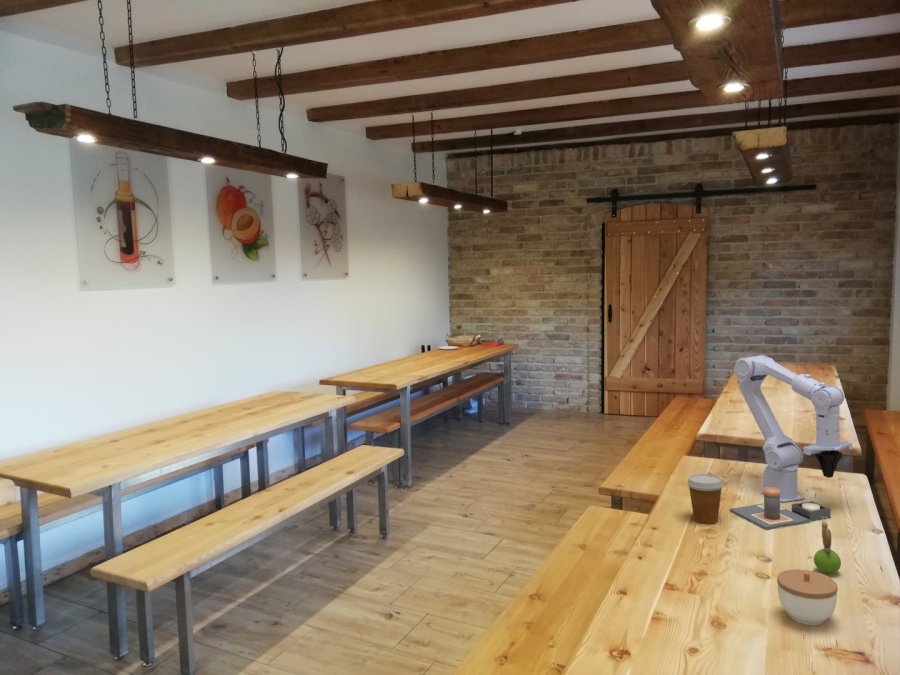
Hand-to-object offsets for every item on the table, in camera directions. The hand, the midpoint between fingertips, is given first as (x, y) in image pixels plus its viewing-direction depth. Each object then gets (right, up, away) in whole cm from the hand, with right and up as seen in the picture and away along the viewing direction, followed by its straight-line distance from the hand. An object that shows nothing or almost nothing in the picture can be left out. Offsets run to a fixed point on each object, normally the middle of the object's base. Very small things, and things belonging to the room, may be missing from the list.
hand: (828, 476), depth 190 cm
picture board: (-17, -11, -1) cm, 21 cm away
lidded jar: (-35, -17, -54) cm, 67 cm away
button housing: (-6, -11, -2) cm, 12 cm away
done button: (-6, -9, -2) cm, 11 cm away
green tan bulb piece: (-20, -15, -35) cm, 43 cm away
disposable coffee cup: (-35, -12, -1) cm, 37 cm away
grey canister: (-18, -10, -4) cm, 21 cm away
